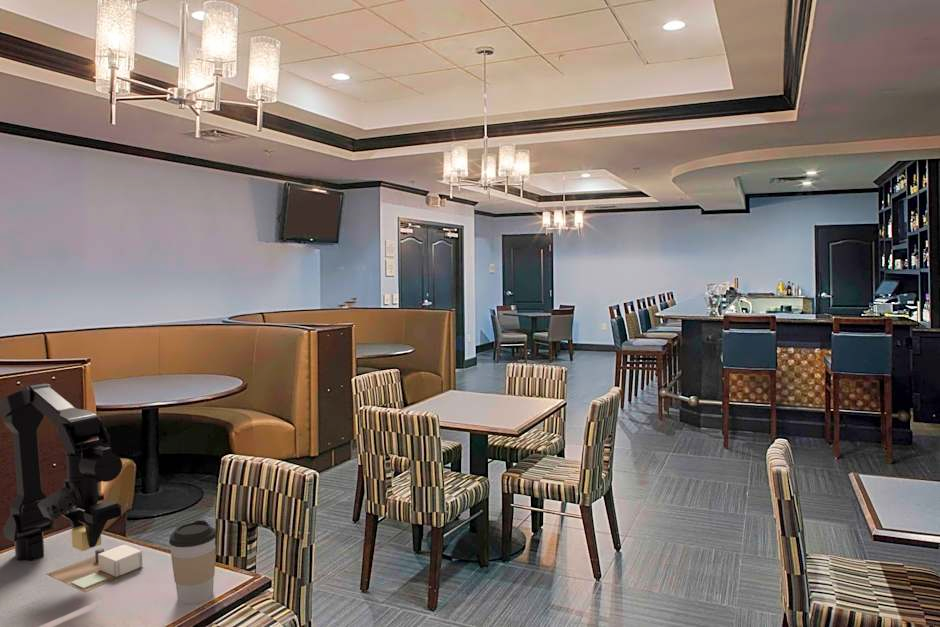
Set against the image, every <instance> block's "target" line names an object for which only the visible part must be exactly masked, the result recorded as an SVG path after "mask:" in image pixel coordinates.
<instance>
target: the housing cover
mask: <svg viewBox="0 0 940 627" xmlns="http://www.w3.org/2000/svg"><path fill="white" fill-rule="evenodd" d="M104 551H105V552H102V553H99V554H98V561H99V570H101V571H104V572H106V573H108V574H111V575H113V576H115V577H118V576H120V575H123V574H125V573H127V572H130V571H132V570H135V569H137V568H140V567H144V566H143V550H141V549H137V548H135V547H133V546H130V545H127V544H121V545H119V546H116V547H114V548H111V549H107V550H104Z"/></svg>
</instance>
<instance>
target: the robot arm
mask: <svg viewBox="0 0 940 627" xmlns="http://www.w3.org/2000/svg"><path fill="white" fill-rule="evenodd" d="M53 388H54V387H53V386H52V385H51V384H50V383H39V384H32V385H31V384H30V385H27V386H26V387H24V388H21V390H19V391H17V392H14V393H12V394H10V395H6V396H4V398H3V399H2V400H1V401H0V416H1V419H2V423H3V424H4V425H5V426H6V427H7V429H9V431H10V432H11V433H12V434H11V435H12V447H13V457H14V468H15V469H14V470H15V480H16V482H15V483H16V492H17V494H16V496H15V497H14V499H13V501H12V502H11V504H10V506H9V517H8V519H7V521H6V522H5V524H4V526H3V528H2V532H3V536H4V539H7V540H8V541H11V542H12V543H13V542H14V554H15V560H16V561H23V562H24V561H29V562H30V561H31V562H33V561H35V560H38V559H41V558H44V556H45V544H44V543H45V542H44V541H45V540H44V533H45V532H46V531H51V530H53V526H54V521H55V520H56V519H57V520H58V518H60V517H64V518H66V519H68V522H69V523H70V525H71V529H73V528H76V527H79V526H82V525H85V528H86V534H87V539H88V543H89V547H93V548H95V547H94V546H95V545H96V543H97V541H98V539H99V537H100V535H101V536H102V532H103V531H104V530H103V529H104V528H105V527H106V525H107V523H108V521H110V520H113V519H117V518H120V517H122V516H123V506H122V505H121V504H120V503H118V502H115V501H112V500H106V501H104V500H105V494H102V493H100V483H101V482H105V483H106V482H108V483H109V482H112V481H113V480H115V479H116V478H117V477H118V476H119V475H120V473H122V469H123V460H122V458H121V457H119V456H118V455H117V454H116V453H113V448H112V447H110V446H111V445H112V441H111V440H110V438H111V435H110V433H109V432H108V431H107V429H106V426H104V423H103V420H102V419H101V417H99V416H98V415H97V414H95V413H93V412H92V411H90V410H88V409H82V408H81V409H80V408H76V407H75V406H73V405H72V404H71V403H70V402H69V401H67V399H65V398H63V396H61V395H60V394H59V393H58V392H56V391H55V390H54V389H53ZM45 417H46V419H48V420H49V421H50V422H52V423H53V424H54V425H55V427H56V436H57V437H58V438H59V440H60V441H61V443H62V444H63V445H64V446H63V448H62V452H63V453H66V455H65V456H66V470H67V479H63V482H62V483H61V484H62V488H60V489H59V490H57V491H55V492H53V493H51V494H49V495H48V496H47V494H45V492H44V491H43V487H42V477H41V475H42V474H41V465H40V463H41V462H40V454H39V453H40V451H39V450H40V449H39V441H38V440H39V438H38V429H39V427H40V425H41V424H42V422H43V420H44V418H45ZM100 501H102V502H100ZM99 502H100V503H99Z"/></svg>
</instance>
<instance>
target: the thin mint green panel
mask: <svg viewBox="0 0 940 627" xmlns="http://www.w3.org/2000/svg"><path fill="white" fill-rule="evenodd" d="M105 580H107V578H105V577H103V576H101V575H98V574H96V573H93V574H90V575H88V576H85V577H83V578H80V579H78V580H75V581H73V582H71V584H74V585H76V586H78V587H80V588H82V589H85V588H88V587H90V586H93V585H95V584H98V583H100V582H102V581H105Z"/></svg>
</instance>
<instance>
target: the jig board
mask: <svg viewBox="0 0 940 627" xmlns="http://www.w3.org/2000/svg"><path fill="white" fill-rule="evenodd" d="M105 551H106V550H105V548H98V549H95V551H94V554H95V555H93V556H91V557H88V558H86V559H83V560H80V561H78V562H74V563H72V564H70V565H67V566H64V567H61V568H58V569H56V570H53V571H51V572H48V573H46V575H47V576H50V577H52V578H53V579H56V580H58V581H60V582H62V583H64V584H67V585H68V586H71V587H73V588H76V589H77V590H78V591H79V590H80V591H82V592H84V593H86V592H90V591H91V590H93V589H96V588H99V587H101V586H103V585H105V584H108V583H110V582H113V581H115V580H117V579H121V578H123V577H125V576H128V575H130V574H132V573H135V572H137V571H140V570H142V569H144V566H142V567H140V568H137V569H135V570H132V571H130V572H127V573H125V574H123V575H120V576H118V577H115V576H113V575H111V574H108V573H106V572H104V571H101V570H99V561H98V554H99V553H102V552H105ZM93 573H96V574H98V575H101V576H103V577H105V578H107V580H105V581H102V582H100V583H98V584H95V585H93V586H90V587H88V588H85V589H82V588H80V587H78V586H76V585H74V584H71V582H73V581H75V580H78V579H80V578H83V577H85V576H88V575H90V574H93Z"/></svg>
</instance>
